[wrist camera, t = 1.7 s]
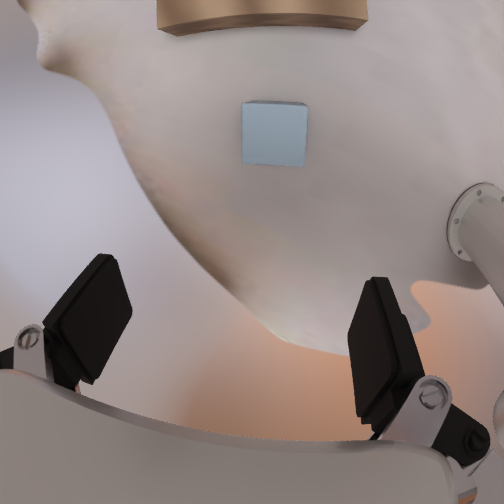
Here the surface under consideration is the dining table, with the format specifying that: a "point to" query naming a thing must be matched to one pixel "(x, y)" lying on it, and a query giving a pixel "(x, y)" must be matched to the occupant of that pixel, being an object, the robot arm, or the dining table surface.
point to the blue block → (274, 133)
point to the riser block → (257, 14)
